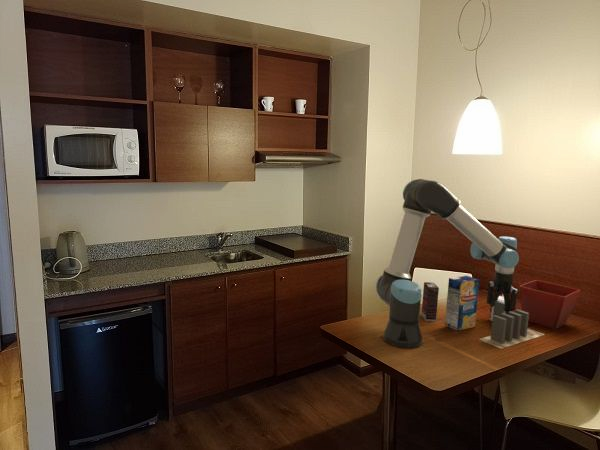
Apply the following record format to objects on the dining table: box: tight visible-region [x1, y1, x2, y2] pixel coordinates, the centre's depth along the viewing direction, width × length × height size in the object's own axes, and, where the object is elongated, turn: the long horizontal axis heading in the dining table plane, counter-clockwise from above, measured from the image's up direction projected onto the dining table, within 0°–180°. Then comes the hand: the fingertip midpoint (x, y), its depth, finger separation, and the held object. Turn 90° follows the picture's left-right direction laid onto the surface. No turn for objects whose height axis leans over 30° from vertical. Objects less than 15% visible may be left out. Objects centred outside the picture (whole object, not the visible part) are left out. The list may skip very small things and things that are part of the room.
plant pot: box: [518, 279, 581, 330], centre depth 199 cm, size 19×19×17 cm
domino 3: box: [500, 313, 515, 342], centre depth 177 cm, size 2×5×10 cm, turn 31°
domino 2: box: [490, 315, 507, 344], centre depth 174 cm, size 2×5×10 cm, turn 31°
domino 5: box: [514, 309, 529, 337], centre depth 182 cm, size 2×5×10 cm, turn 31°
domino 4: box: [508, 311, 522, 339], centre depth 180 cm, size 2×5×10 cm, turn 31°
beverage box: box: [444, 275, 480, 331], centre depth 189 cm, size 7×11×22 cm, turn 118°
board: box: [478, 327, 545, 350], centre depth 180 cm, size 30×10×1 cm, turn 121°
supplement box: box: [420, 281, 440, 322], centre depth 200 cm, size 9×5×16 cm, turn 179°
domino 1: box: [493, 301, 505, 316], centre depth 196 cm, size 2×5×10 cm, turn 31°
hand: (498, 322), depth 196 cm, fingers closed on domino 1, 5 cm apart
